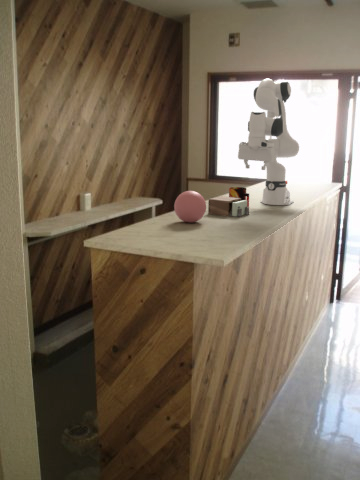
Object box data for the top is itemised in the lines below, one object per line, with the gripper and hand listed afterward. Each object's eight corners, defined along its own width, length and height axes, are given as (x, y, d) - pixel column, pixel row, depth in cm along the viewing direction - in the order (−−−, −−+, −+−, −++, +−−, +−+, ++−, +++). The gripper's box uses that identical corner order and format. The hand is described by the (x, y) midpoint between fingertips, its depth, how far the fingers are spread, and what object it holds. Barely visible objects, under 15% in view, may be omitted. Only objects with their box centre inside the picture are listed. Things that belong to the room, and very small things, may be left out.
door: (242, 213, 265) (243, 200, 263) (248, 213, 263) (248, 200, 261) (231, 216, 255) (232, 202, 253) (237, 216, 253) (237, 203, 252)
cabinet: (221, 210, 274) (222, 196, 272) (250, 213, 264) (251, 199, 262) (208, 213, 263) (208, 199, 261) (237, 217, 252) (238, 202, 251)
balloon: (215, 220, 245) (216, 189, 241) (196, 226, 228) (196, 193, 225) (188, 217, 252) (189, 187, 249) (168, 223, 236) (168, 191, 232)
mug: (247, 211, 271) (248, 190, 268) (225, 209, 278) (226, 188, 276) (255, 209, 279) (256, 188, 276) (233, 207, 286) (233, 186, 284)
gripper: (236, 141, 260) (235, 168, 264) (271, 144, 249) (269, 171, 253) (242, 141, 265) (241, 166, 269) (276, 143, 254) (275, 170, 257)
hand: (255, 169), depth 261 cm, fingers open, 8 cm apart
